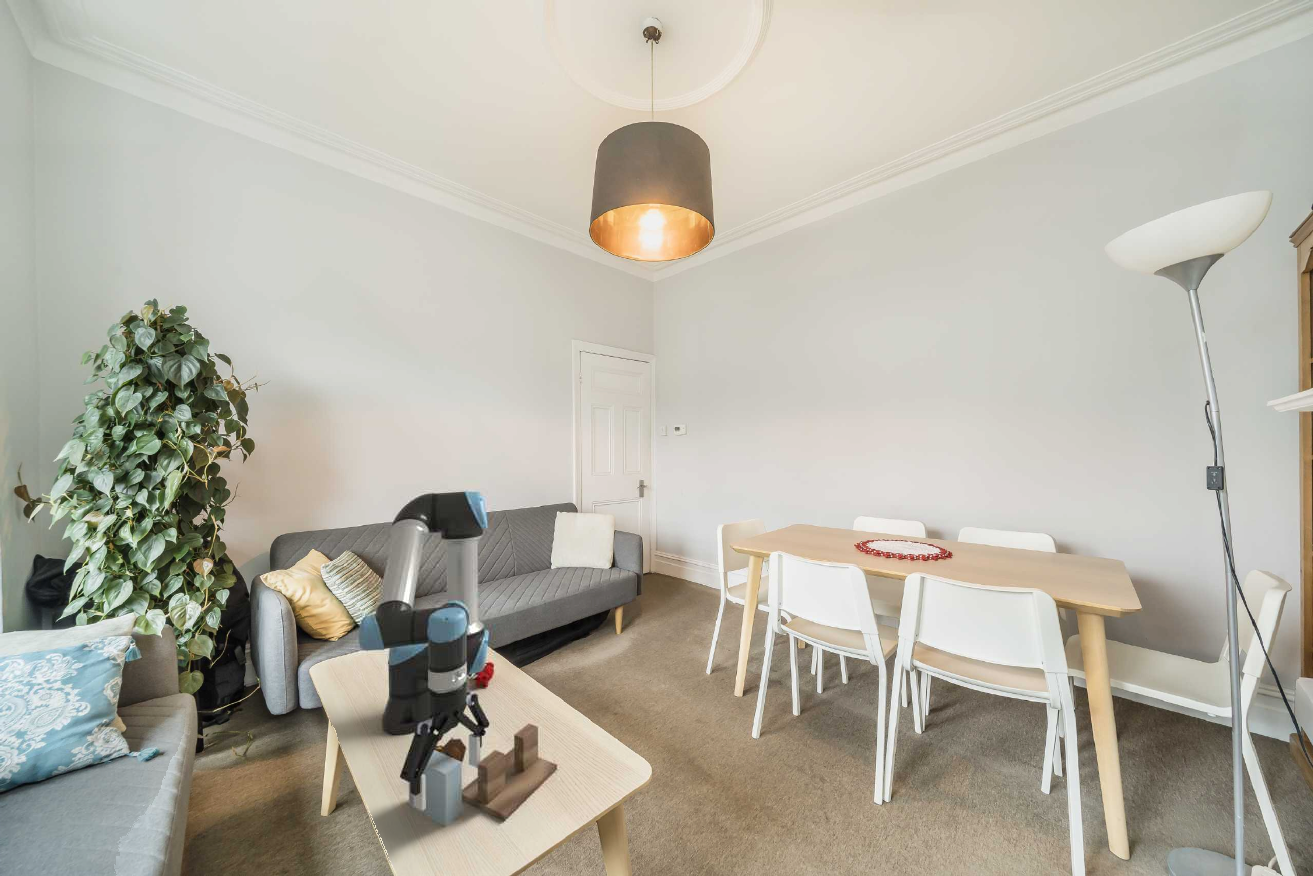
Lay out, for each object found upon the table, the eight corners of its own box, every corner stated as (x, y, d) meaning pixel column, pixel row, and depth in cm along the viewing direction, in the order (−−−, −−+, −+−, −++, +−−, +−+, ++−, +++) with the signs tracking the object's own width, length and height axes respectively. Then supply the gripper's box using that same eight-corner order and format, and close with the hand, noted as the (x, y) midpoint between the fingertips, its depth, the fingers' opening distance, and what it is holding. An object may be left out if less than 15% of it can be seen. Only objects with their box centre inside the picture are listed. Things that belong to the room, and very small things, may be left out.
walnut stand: (458, 798, 105) (458, 757, 105) (514, 752, 120) (513, 716, 120) (504, 821, 98) (504, 777, 98) (557, 769, 113) (556, 731, 113)
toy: (442, 723, 126) (472, 730, 117) (445, 752, 125) (476, 761, 116) (405, 742, 118) (435, 751, 109) (408, 772, 117) (439, 785, 108)
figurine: (471, 667, 162) (503, 678, 156) (451, 684, 155) (484, 695, 148) (468, 651, 161) (500, 661, 154) (448, 667, 154) (481, 678, 147)
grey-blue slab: (409, 806, 102) (408, 756, 102) (425, 793, 106) (424, 745, 106) (446, 826, 97) (445, 774, 97) (461, 812, 100) (461, 762, 100)
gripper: (404, 720, 86) (405, 835, 86) (504, 663, 109) (505, 755, 108) (379, 710, 90) (380, 821, 90) (481, 657, 112) (482, 745, 112)
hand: (448, 785), depth 99 cm, fingers open, 13 cm apart
